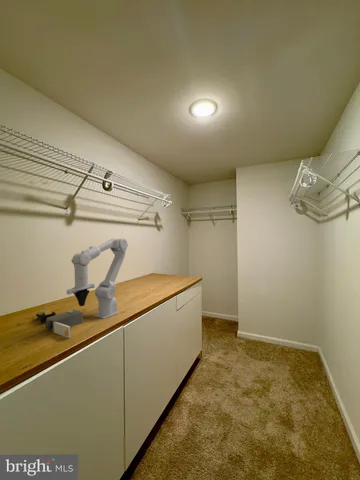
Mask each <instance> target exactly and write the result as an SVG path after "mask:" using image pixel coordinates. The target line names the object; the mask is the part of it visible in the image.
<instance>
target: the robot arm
mask: <svg viewBox="0 0 360 480" xmlns="http://www.w3.org/2000/svg"><path fill="white" fill-rule="evenodd" d="M128 245H129V244H128V242H127V239H126V238H124V237H121V238H110V239H108V240H107V241H105V242H103V243H101V244H100V245H98V246H92V245H91V246H88V248H87V249H86V250H82V251H81V252H79V253H75V254H74V255H73V257H72V259H71V263H72V265H73V267H74V286H73V287H71V288H68V289H67V290H66V295H72V294H73V295H74V296H75V298H76V300H77V302H78V305H79V307H83V306H85V305H86V300H87V297H88V295H89V293H90V289H94V288H95V287H96V286H95V283H89V281H88V280H89V279H88V276H89V274H88V273H89V272H88V271H89V269H88V266H89V264H90V262H91V261H92V260H94V259H96V258H98V257H99V256H100V255H101V253H102V252H105V251H106V250H109V249H110V250H111V252H112V253H113V254H114V257H113V260H112V261H111V264H110V266H109V268H108V271H107V273H106V276H105V278H104V280H102V281H101V282H100V283H99V285H98V286H97V287H96V289H95V290H94V295H95V297H96V299H97V306H98V308H97V309H98V310H97V311H98V312H97V314H95V315H94V317H97V318H101V319H107V318H110V317H111V316H115V315H118V314H119V311H118V301H117V299H116V297H115V294H116V288H117V285H116V284H115V282H116V279H117V277H118V275H119V272H120V269H121V267H122V264H123V261H124V259H125V257H126V251H127V248H128V247H129V246H128Z"/></svg>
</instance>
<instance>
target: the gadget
mask: <svg viewBox="0 0 360 480" xmlns="http://www.w3.org/2000/svg"><path fill="white" fill-rule="evenodd" d="M55 315H57V313H56V312H54V311H53V309H52V308H49V309H43V310H40V311H38V313H36V314H35V317H36V319H37V321H39V322H41V323H46V322H47V319H46V318H48V317H51V316H55Z"/></svg>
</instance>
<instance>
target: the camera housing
mask: <svg viewBox="0 0 360 480" xmlns="http://www.w3.org/2000/svg"><path fill="white" fill-rule="evenodd" d="M83 317H84V316H83V312H82V311H80V310H77V309H71V310H68V311H65V312H62V313H58V314H56V315H55V316H51V317H48V318H46V319H47V322H45V327H46V330H47V331H48V330H49V331H51V332H53V322H58V323H61V324H64V325H67V326H70V327H74V326H77V325H80V324H81V323H83V319H84V318H83Z"/></svg>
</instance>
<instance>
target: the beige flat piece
mask: <svg viewBox="0 0 360 480" xmlns="http://www.w3.org/2000/svg"><path fill="white" fill-rule="evenodd" d="M71 327H72V326H71ZM71 327H70V326H67V325H64V324H61V323H58V322H53V331H52V332H53V333H54V334H57V335H60V336H62V337H64V338H67V339H69V338H71V336H72V335H71Z"/></svg>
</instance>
